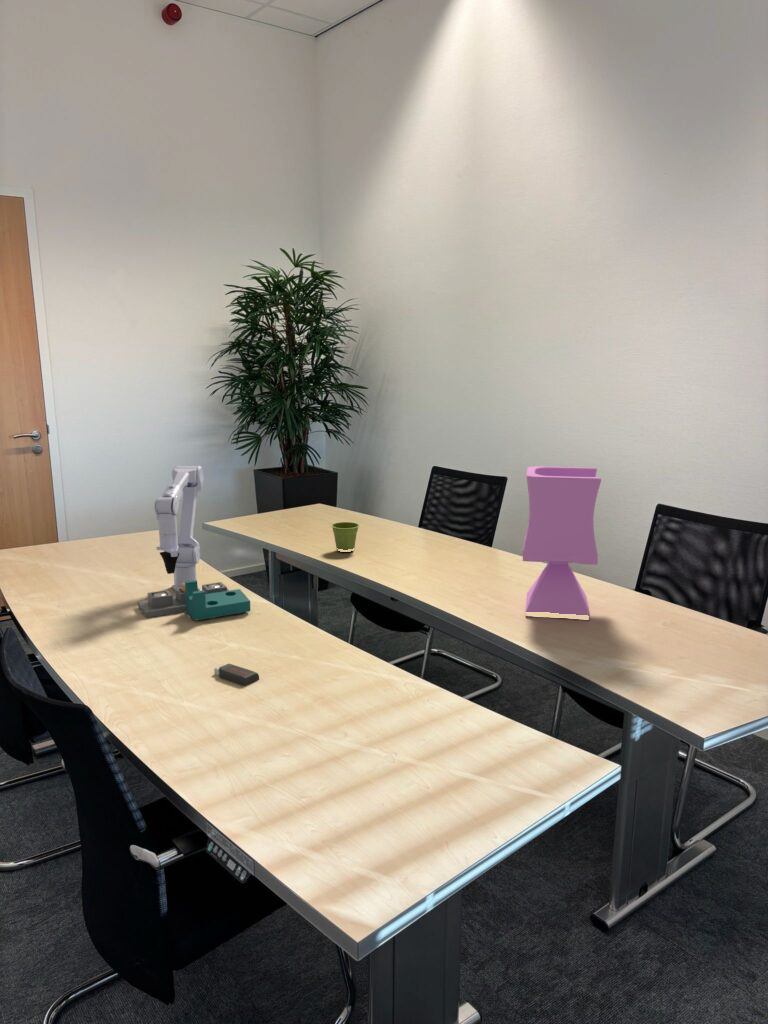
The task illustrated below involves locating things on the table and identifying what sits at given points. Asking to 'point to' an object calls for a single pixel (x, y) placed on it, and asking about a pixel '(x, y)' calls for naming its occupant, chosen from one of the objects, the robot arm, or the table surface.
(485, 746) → the table surface
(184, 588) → the middle knob
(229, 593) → the teal l-shaped bracket
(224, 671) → the usb drive
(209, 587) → the knob
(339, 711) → the table surface
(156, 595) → the knob
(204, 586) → the control panel
